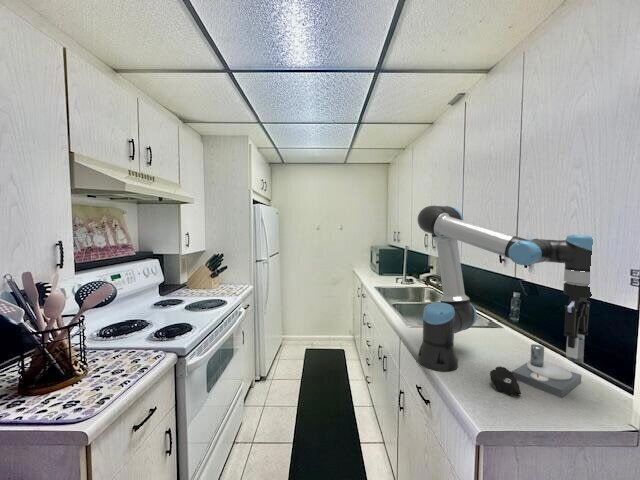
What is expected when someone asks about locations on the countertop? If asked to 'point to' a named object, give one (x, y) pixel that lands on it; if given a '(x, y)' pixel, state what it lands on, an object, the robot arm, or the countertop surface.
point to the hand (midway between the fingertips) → (574, 355)
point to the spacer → (537, 355)
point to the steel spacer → (580, 352)
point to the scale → (548, 378)
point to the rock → (504, 381)
